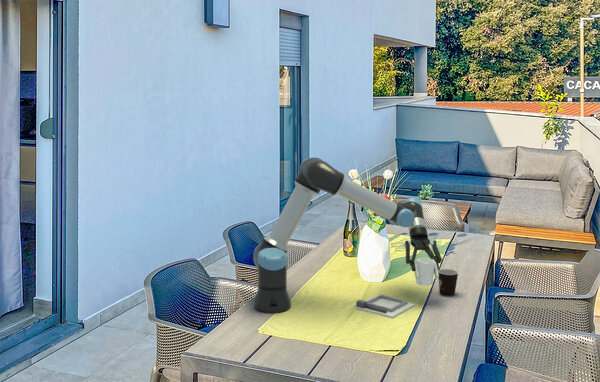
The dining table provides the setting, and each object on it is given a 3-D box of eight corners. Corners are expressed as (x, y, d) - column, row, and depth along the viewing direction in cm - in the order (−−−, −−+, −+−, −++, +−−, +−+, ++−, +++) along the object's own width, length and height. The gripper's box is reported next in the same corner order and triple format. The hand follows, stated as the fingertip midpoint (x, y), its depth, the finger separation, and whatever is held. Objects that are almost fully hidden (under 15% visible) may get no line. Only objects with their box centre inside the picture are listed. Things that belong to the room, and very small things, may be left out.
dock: (354, 308, 257) (354, 301, 256) (377, 296, 271) (377, 290, 270) (392, 318, 246) (392, 311, 245) (414, 305, 260) (414, 299, 259)
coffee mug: (457, 297, 270) (458, 275, 268) (437, 296, 272) (438, 274, 270) (456, 289, 281) (457, 267, 280) (436, 288, 283) (437, 266, 281)
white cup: (435, 286, 258) (436, 263, 257) (416, 286, 259) (417, 262, 257) (431, 280, 266) (433, 258, 264) (413, 280, 266) (414, 257, 265)
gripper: (438, 234, 276) (448, 281, 263) (392, 235, 273) (400, 282, 260) (443, 225, 270) (454, 273, 257) (396, 226, 267) (405, 273, 254)
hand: (427, 277), depth 258 cm, fingers closed on white cup, 8 cm apart
